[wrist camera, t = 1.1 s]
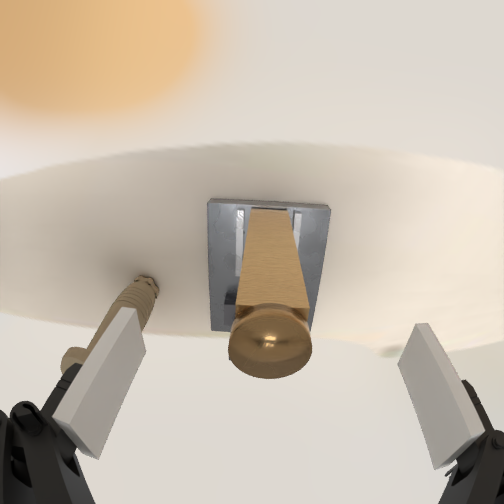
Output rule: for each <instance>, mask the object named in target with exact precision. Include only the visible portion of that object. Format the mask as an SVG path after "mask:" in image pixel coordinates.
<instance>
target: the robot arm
mask: <svg viewBox="0 0 504 504" xmlns="http://www.w3.org/2000/svg"><path fill="white" fill-rule="evenodd" d="M145 353H146V349H145V345H144V341H143V337H142V333H141V328H140V324H139V320H138V315H137V310H136V309H134V308H127V307H121V309H120V310H119V312H118V313H117V314H116V316H115V317H114V319H113V320H112V322H111V323H110V325H109V326H108V328H107V329H106V330H105V332H104V333H103V335H102V336H101V338H100V339H99V341H98V342H97V344H96V345H95V347H94V349H93V350H92V352H91V353H90V355H89V356H88V358H87V359H86V361H85V363H84V364H83V365H82V364H79V363H74V364H73V365H72V366H70V367H69V368H68V369H66V371H65V372H64V374H63V376H62V377H61V380H59V382H58V383H57V385H56V387H55V388H54V390H53V391H52V393H51V395H50V396H49V398H48V399H47V401H46V403H45V404H44V406H43V408H42V409H41V411H39V409H38V408H37V407H36V406H35V405H34V404H33V403H32V402H29V401H22V402H19V403H17V404H16V405H15V406H14V407H13V408H12V410H11V412H10V418H8V417H7V415H6V414H5V413H4V412H3V411H2V410H0V504H95V502H94V500H93V497H92V495H91V493H90V490H89V488H88V485H87V483H86V481H85V478H84V475H83V473H82V470H81V468H80V465H79V462H78V459H77V456H76V454H75V450H76V448H78V449H79V450H80V451H81V452H82V453H83V454H85V455H87V456H90V457H93V458H95V459H99V457H100V455H101V453H102V450H103V447H104V445H105V443H106V440H107V438H108V435H109V433H110V431H111V428H112V426H113V424H114V421H115V419H116V417H117V414H118V412H119V410H120V408H121V405H122V403H123V401H124V398H125V396H126V394H127V392H128V390H129V387H130V385H131V383H132V381H133V379H134V376H135V374H136V372H137V370H138V367H139V366H140V364H141V361H142V359H143V357H144V355H145ZM398 366H399V369H400V371H401V374H402V377H403V379H404V381H405V384H406V387H407V389H408V392H409V395H410V397H411V400H412V403H413V406H414V408H415V411H416V414H417V417H418V420H419V423H420V425H421V428H422V431H423V434H424V438H425V440H426V444H427V447H428V450H429V453H430V457H431V460H432V464H433V467H434V470H436V469H439V468H443V467H445V466H448V465H450V463H452V462H453V461H454V460H455V459H456V460H457V464H456V465H455V466H454V467H453V468H452V469H450V470H449V471H448V472H447V473H446V474H445V476H448V475H449V474H450V473H452V474H451V476H450V477H449V478H450V479H449V481H448V483H447V486H446V488H445V490H444V493H443V495H442V497H441V499H440V501H439V503H438V504H504V433H503V432H502V431H499V430H494V428H493V427H492V424H491V422H490V420H489V418H488V416H487V414H486V412H485V410H484V408H483V406H482V404H481V402H480V400H479V398H478V397H477V394H476V392H475V390H474V388H473V387H472V386H471V385H470V384H469V383H468V382H467V381H466V380H460V378H459V376H458V374H457V372H456V370H455V368H454V367H453V365H452V363H451V361H450V359H449V358H448V356H447V354H446V352H445V351H444V349H443V347H442V346H441V344H440V342H439V341H438V339H437V337H436V336H435V334H434V332H433V331H432V329H431V327H430V326H429V324H428V323H422V324H415V326H414V329H413V331H412V333H411V336H410V338H409V340H408V343H407V345H406V347H405V349H404V351H403V354H402V356H401V358H400V360H399V362H398Z"/></svg>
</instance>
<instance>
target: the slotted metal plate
mask: <svg viewBox="0 0 504 504" xmlns="http://www.w3.org/2000/svg"><path fill="white" fill-rule="evenodd" d="M251 208H252V209H271V210H287V211H288V213H289V217H290V221H291V226H292V230H293V234H294V238H295V243H296V247H297V251H298V256H299V260H300V265H301V269H302V274H303V279H304V283H305V288H306V293H307V297H308V302H309V307H310V309H309V315H308V320H307V323H308V326H309V331H311V326H312V321H313V316H314V311H315V306H316V301H317V295H318V290H319V284H320V279H321V273H322V267H323V261H324V255H325V248H326V242H327V235H328V228H329V221H330V213H331V209H330V208H329V207H328V205H317V204H304V203H289V202H274V201H256V200H234V199H210V200H209V201H208V203H207V216H208V263H209V291H210V313H211V330H212V331H224V332H231V327H232V324H233V322H234V320H235V308H236V299H237V292H238V286H239V280H240V273H241V267H242V261H243V255H244V249H245V242H246V236H247V230H248V224H249V218H250V212H251ZM229 360H231V359H230V357H229Z"/></svg>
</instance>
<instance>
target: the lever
mask: <svg viewBox="0 0 504 504" xmlns="http://www.w3.org/2000/svg"><path fill="white" fill-rule="evenodd" d="M309 309H310V307H309V302H308V297H307V293H306V288H305V283H304V279H303V274H302V269H301V265H300V260H299V256H298V251H297V247H296V243H295V238H294V234H293V230H292V226H291V221H290V217H289V213H288V211H287V210H271V209H252V208H251V212H250V218H249V224H248V230H247V236H246V242H245V249H244V255H243V261H242V267H241V273H240V280H239V286H238V292H237V299H236V308H235V320H234V322H233V324H232V327H231V333H230V339H229V347H228V353H229V357H230V359H231V361H232V363H233V364H234V365H235V366H236V367H237V368H238V369H239V370H241V371H242V372H244V373H246V374H248V375H251V376H253V377H258V378H264V379H275V378H281V377H285V376H288V375H291V374H293V373H295V372H297V371H299V370H300V369H301V368H303V367H304V366H305V365H306V363H307V362H308V361H309V359H310V356H311V354H312V343H311V337H310V331H309V326H308V323H307V320H308V315H309Z"/></svg>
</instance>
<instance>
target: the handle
mask: <svg viewBox="0 0 504 504" xmlns="http://www.w3.org/2000/svg"><path fill="white" fill-rule="evenodd" d="M158 293H159V289H158V287H156V285H155V284H154V282H153V279H151V278H145V277H143V276H139V277H137V278H136V279H135V280H134V283H132V284H130V285H129V286H128V287H127V288H126V289H125V290H124V291H123V292H122V293H121V294H120V295H119V296H118V298H117V299H116V300H115V302H114V303H113V304H112V306H111V307H110V309H109V311H108V313H107V314H106V316H105V318H104V319H103V321H102V323H101V325H100V326H99V328H98V330H97V332H96V333H95V335H94V337H93V339H92V340H91V342H90V344H89V346H88V347H87V349H84V348H80V347H71V348H69V349H68V350H67V352H66V353H65V355H64V356H63V358H62V362H61V371H62V374H64V372H65V371H66V369H68V368H69V367H70V366H72V365H73V364H74V363H79V364H82V365H83V364H84V363H85V361H86V359H87V358H88V356H89V355H90V353H91V352H92V350H93V349H94V347H95V345H96V344H97V342H98V341H99V339H100V338H101V336H102V335H103V333H104V332H105V330H106V329H107V328H108V326H109V325H110V323H111V322H112V320H113V319H114V317H115V316H116V314H117V313H118V312H119V310H120V309H121V307H127V308H134V309H136V310H137V315H138V320H139V324H140V328H141V332H142V331H143V329H144V327H145V325H146V323H147V321H148V319H149V317H150V314H151V312H152V310H153V307H154V303H155V298H156V299H157V296H158Z"/></svg>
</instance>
